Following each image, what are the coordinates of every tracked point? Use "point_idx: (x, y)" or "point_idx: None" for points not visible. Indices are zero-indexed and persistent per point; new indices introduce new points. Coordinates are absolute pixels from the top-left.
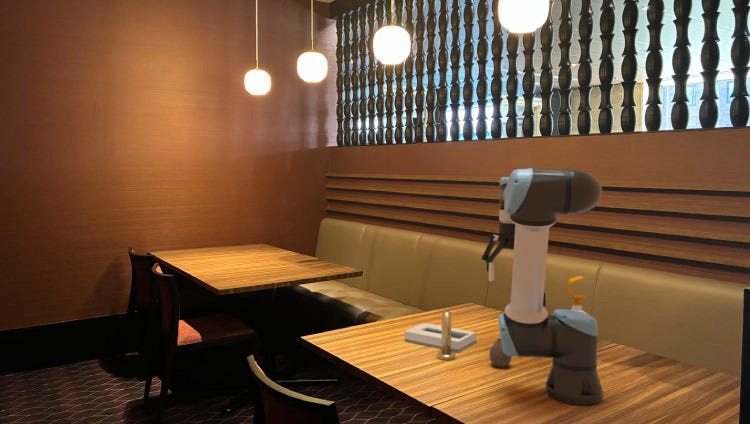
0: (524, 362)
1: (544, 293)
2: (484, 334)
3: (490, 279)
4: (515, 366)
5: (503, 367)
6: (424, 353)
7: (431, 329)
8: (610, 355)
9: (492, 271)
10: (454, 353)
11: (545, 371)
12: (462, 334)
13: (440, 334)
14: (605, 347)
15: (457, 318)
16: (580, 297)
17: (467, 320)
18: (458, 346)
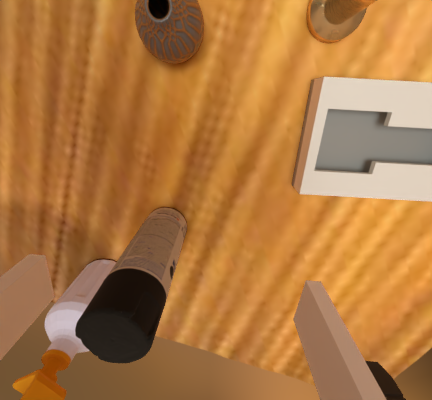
0: (139, 101)
1: (75, 330)
2: (290, 248)
3: (312, 290)
4: (143, 55)
5: (161, 17)
6: (405, 10)
7: (429, 164)
8: (27, 244)
9: (326, 368)
10: (315, 23)
11: (70, 62)
12: (332, 171)
13: (394, 119)
14: (57, 282)
15: (375, 318)
16: (22, 377)
17: (351, 315)
18: (318, 78)
